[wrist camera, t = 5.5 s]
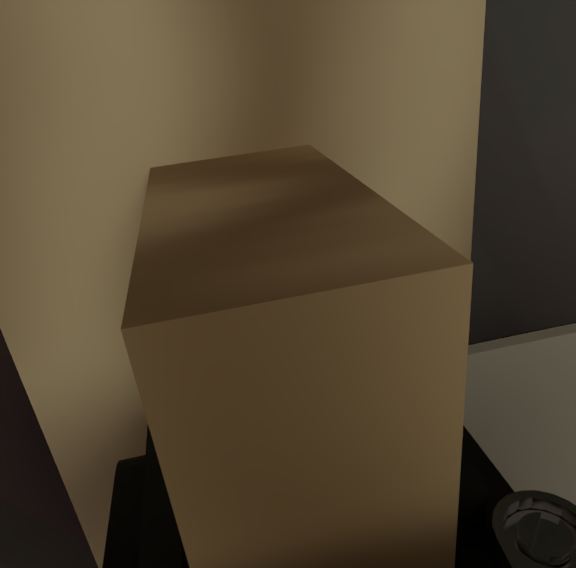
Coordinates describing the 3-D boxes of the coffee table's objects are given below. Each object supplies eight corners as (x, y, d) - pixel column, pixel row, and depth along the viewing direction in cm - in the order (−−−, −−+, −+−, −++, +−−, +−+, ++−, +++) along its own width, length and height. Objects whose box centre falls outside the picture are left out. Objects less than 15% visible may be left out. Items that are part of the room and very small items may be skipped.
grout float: (457, -111, 10) (1035, -426, 3) (435, 539, 17) (587, 824, 11) (-123, -64, 8) (-1181, -454, 2) (138, 617, 16) (115, 994, 10)
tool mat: (735, 289, 22) (749, 295, 22) (636, 604, 32) (644, 613, 31) (408, 357, 20) (414, 366, 20) (408, 670, 30) (412, 682, 29)
